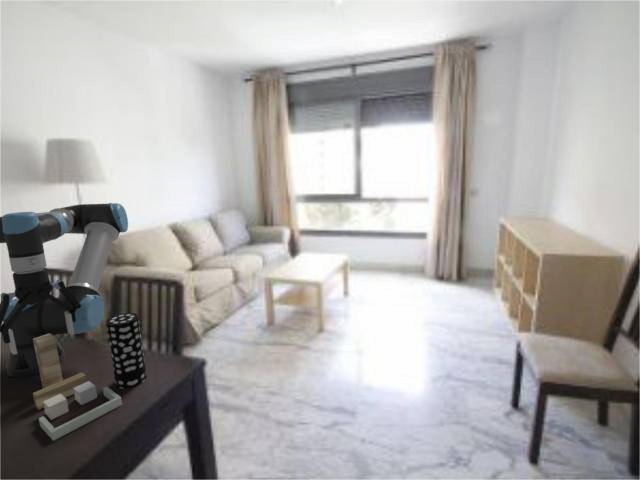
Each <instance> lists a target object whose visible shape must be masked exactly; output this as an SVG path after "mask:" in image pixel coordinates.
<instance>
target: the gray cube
mask: <svg viewBox="0 0 640 480" xmlns="http://www.w3.org/2000/svg"><path fill="white" fill-rule="evenodd" d="M73 389H74V394H73V395H74V399H75V401H76V402H77V403H78V404H80V405H81V406H82V405H85V404H87V403H89V402H91V401H93V400H95V399H97V398H98V394H97V388H96V385H95V384H93V383H92V382H91V381H90V380H89V381H88V380H87V382H86V383H83V384H81V385H79V386H77V387H74V388H73Z"/></svg>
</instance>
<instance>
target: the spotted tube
mask: <svg viewBox="0 0 640 480" xmlns="http://www.w3.org/2000/svg"><path fill="white" fill-rule="evenodd" d="M105 324H106V325H105V326H106V332H107V337H108V344H109V352H110V357H111V363H112V369H113V375H114V376H113V377H114V381H115V386H116V387H117V388H118V389H131V388H134V387H136V386H137V387H138V386H139V385H141V384H142V383H144V382H145V381H146V379H147V375H148V374H147V368H146V362H145V356H144V355H145V353H144V348H143V347H144V346H143V341H142V332H141V327H140V319H139V314H137V313H135V312H124V313H119V314H115V315H113V316H111V317H109V318H108V319H106V321H105Z"/></svg>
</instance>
